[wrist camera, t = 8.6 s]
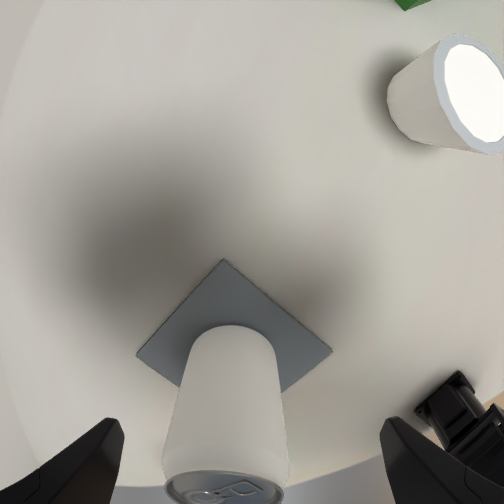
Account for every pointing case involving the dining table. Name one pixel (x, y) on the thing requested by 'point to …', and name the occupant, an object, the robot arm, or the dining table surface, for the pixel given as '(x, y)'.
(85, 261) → the dining table surface
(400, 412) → the dining table surface
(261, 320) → the slate mat
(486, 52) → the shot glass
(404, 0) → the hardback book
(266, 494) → the can
